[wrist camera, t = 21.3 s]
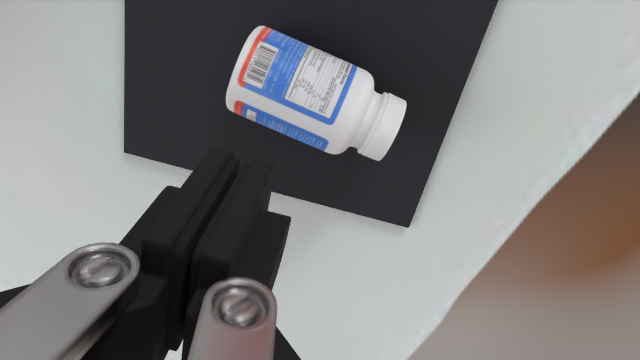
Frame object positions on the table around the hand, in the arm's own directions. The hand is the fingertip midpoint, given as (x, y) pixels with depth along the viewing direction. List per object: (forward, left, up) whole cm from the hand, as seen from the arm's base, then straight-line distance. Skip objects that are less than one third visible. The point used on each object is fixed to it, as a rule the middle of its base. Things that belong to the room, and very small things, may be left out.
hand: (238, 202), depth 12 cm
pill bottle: (-5, -2, -16) cm, 17 cm away
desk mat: (-2, -3, -19) cm, 20 cm away
